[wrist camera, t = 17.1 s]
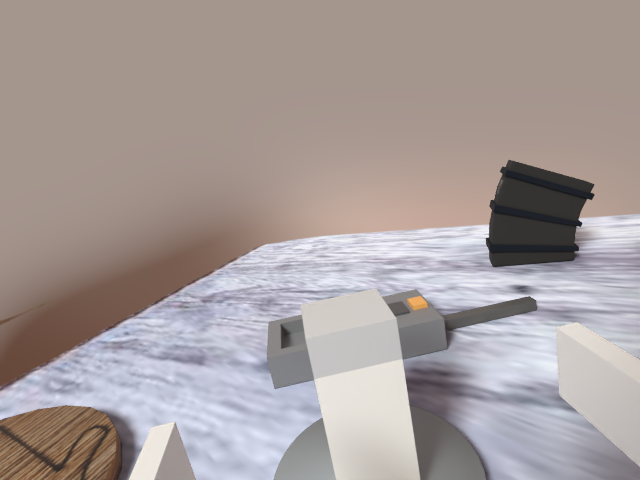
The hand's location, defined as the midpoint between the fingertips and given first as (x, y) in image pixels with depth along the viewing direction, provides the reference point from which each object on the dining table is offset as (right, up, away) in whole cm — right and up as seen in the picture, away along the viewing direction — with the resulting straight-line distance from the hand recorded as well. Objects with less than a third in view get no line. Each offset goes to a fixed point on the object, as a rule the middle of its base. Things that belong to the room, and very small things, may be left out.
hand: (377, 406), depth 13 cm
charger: (+2, -10, +13) cm, 16 cm away
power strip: (+8, -5, +30) cm, 32 cm away
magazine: (+30, +2, +44) cm, 53 cm away
